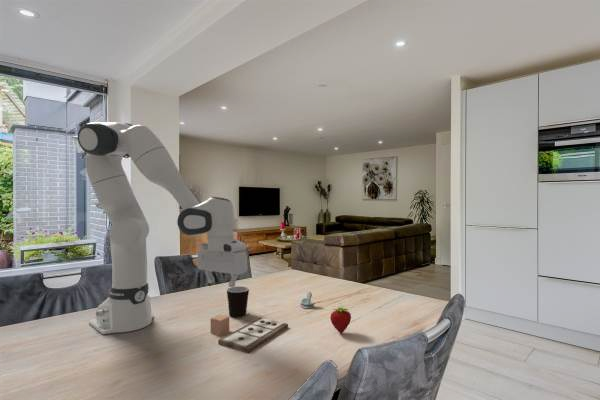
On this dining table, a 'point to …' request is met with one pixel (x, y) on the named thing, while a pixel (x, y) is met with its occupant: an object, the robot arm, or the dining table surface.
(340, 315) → the strawberry
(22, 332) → the dining table surface
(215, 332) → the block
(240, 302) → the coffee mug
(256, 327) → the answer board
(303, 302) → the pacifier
